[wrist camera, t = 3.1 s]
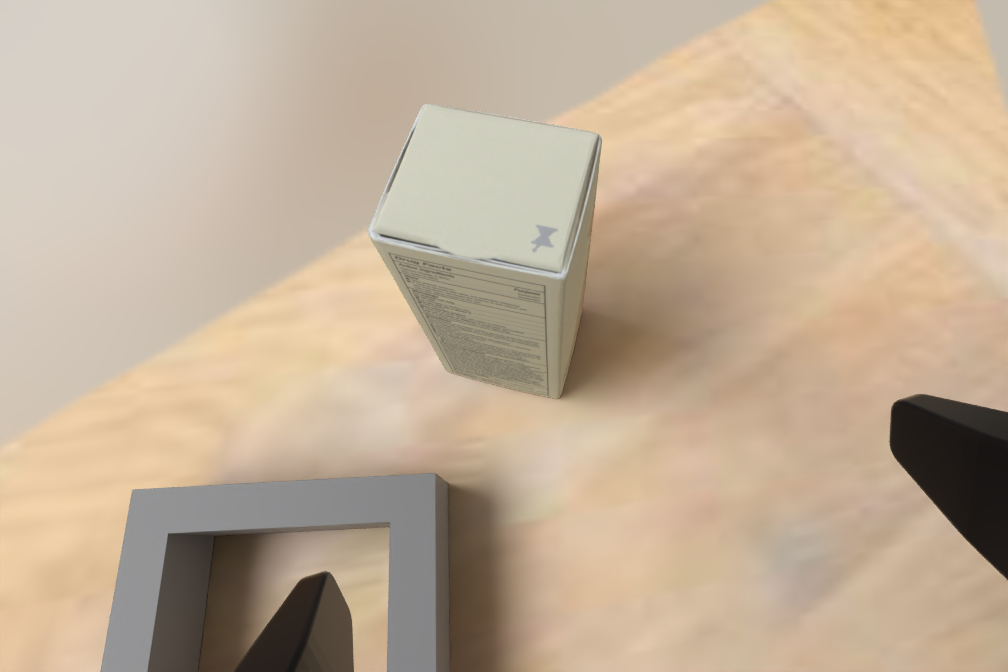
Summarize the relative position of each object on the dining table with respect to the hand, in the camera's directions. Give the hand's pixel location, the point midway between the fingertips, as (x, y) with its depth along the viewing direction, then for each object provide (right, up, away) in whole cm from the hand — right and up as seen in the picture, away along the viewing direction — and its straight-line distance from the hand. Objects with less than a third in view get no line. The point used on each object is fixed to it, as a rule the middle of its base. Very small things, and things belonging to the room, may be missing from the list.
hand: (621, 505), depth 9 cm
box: (-1, +2, +16) cm, 16 cm away
